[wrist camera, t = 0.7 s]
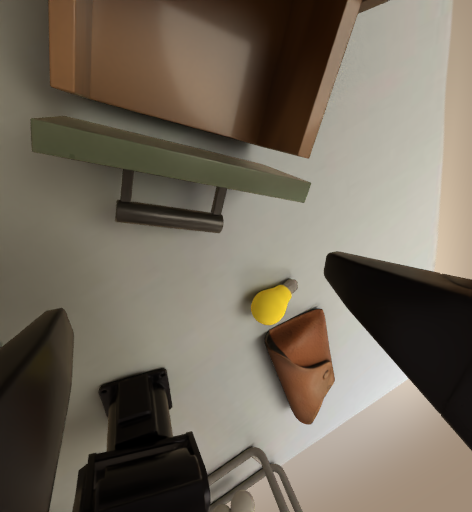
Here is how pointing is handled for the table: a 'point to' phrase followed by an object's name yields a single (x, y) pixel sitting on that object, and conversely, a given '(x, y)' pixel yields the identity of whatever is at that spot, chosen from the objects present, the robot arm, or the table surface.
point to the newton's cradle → (239, 496)
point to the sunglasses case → (302, 362)
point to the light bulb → (273, 302)
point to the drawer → (195, 89)
